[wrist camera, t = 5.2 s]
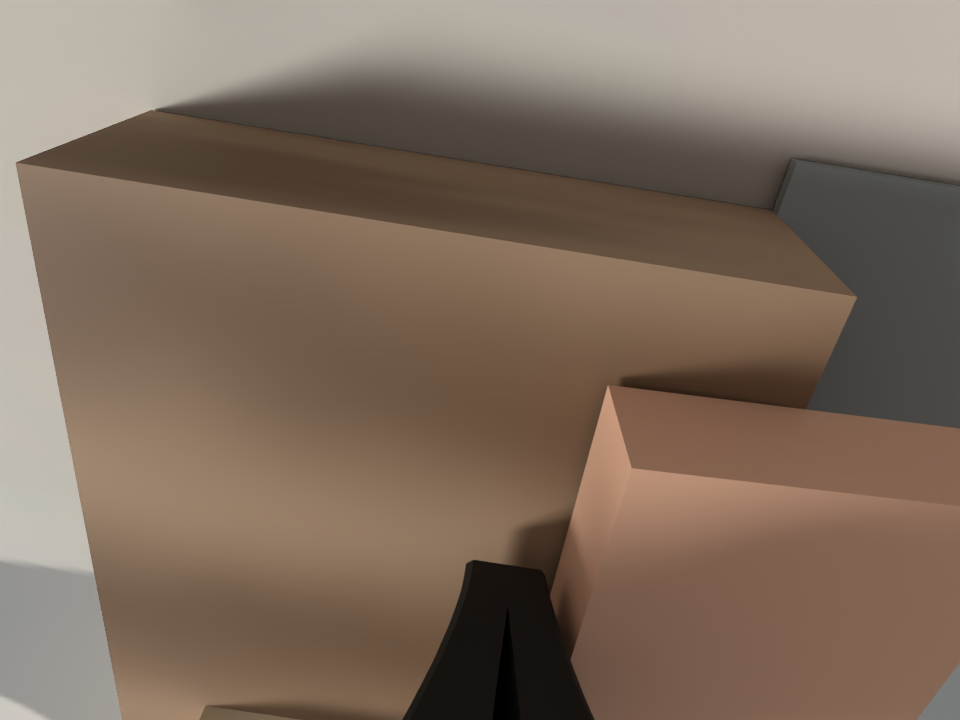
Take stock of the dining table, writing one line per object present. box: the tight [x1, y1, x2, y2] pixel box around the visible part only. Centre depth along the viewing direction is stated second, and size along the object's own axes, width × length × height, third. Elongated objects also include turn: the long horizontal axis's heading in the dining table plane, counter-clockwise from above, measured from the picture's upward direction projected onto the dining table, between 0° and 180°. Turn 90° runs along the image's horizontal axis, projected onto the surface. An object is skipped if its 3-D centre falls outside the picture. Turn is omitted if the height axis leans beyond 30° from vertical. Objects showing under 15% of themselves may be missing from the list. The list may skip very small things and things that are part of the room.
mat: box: [773, 159, 960, 720], centre depth 18 cm, size 20×13×1 cm, turn 172°
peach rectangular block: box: [550, 385, 960, 720], centre depth 12 cm, size 9×6×2 cm, turn 172°
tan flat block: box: [16, 110, 857, 720], centre depth 16 cm, size 18×12×4 cm, turn 172°
